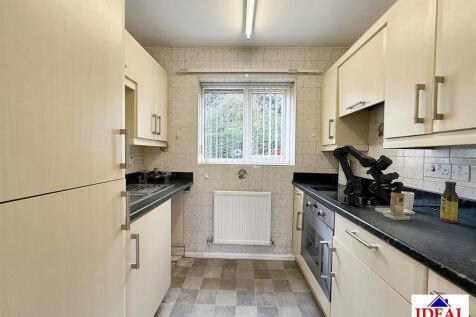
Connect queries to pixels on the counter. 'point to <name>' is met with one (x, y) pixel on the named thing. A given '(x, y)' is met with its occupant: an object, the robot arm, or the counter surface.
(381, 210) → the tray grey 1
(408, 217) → the tray green
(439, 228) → the counter surface
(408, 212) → the grey tray
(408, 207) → the white cup
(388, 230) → the counter surface
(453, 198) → the sauce bottle
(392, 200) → the letter block
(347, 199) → the robot arm
